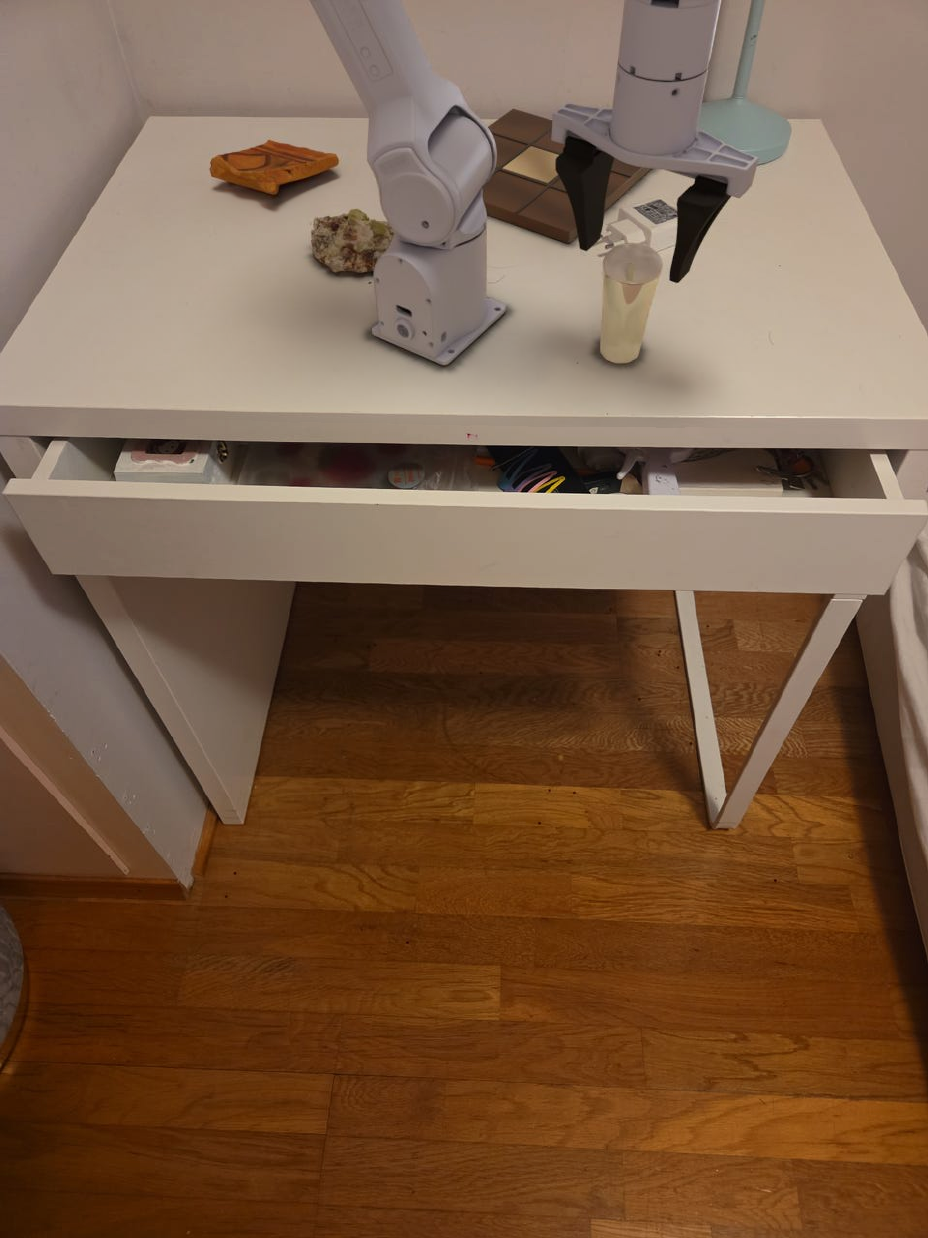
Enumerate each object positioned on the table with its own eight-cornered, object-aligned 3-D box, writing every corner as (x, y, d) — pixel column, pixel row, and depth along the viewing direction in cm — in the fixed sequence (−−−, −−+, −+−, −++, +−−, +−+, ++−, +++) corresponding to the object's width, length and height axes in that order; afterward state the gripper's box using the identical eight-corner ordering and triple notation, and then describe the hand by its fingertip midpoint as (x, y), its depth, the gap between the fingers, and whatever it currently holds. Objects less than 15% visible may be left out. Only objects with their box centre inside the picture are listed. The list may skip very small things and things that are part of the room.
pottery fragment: (202, 159, 88) (263, 101, 92) (218, 199, 92) (275, 143, 96) (282, 188, 85) (341, 127, 89) (294, 229, 89) (350, 169, 93)
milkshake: (586, 371, 73) (600, 259, 65) (596, 331, 76) (610, 220, 68) (642, 378, 72) (662, 266, 64) (649, 339, 75) (670, 227, 67)
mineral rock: (290, 249, 80) (319, 182, 82) (301, 283, 84) (329, 218, 86) (403, 270, 78) (429, 201, 81) (409, 304, 82) (434, 237, 85)
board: (568, 243, 84) (570, 230, 83) (416, 189, 90) (415, 177, 89) (657, 163, 92) (659, 150, 91) (512, 119, 98) (513, 106, 97)
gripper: (797, 65, 55) (745, 263, 66) (594, 15, 60) (577, 207, 71) (750, 109, 52) (703, 311, 63) (539, 53, 57) (530, 248, 68)
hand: (633, 259), depth 67 cm, fingers open, 7 cm apart
